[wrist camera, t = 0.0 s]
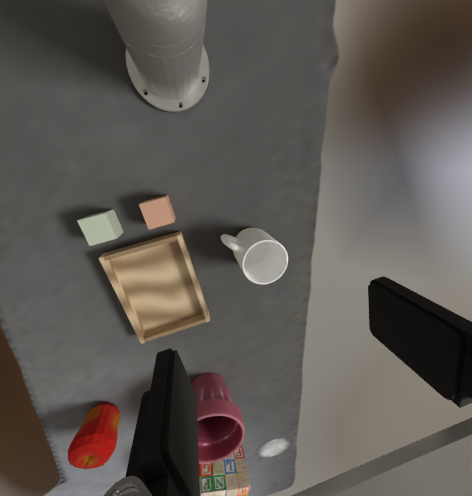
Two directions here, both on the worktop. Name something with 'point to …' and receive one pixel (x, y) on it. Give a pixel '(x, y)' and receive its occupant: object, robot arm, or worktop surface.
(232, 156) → the worktop surface
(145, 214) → the terracotta block
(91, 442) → the apple
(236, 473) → the stack of blocks
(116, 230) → the sage block
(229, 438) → the plant pot
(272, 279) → the cup
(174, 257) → the oak tray
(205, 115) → the worktop surface
